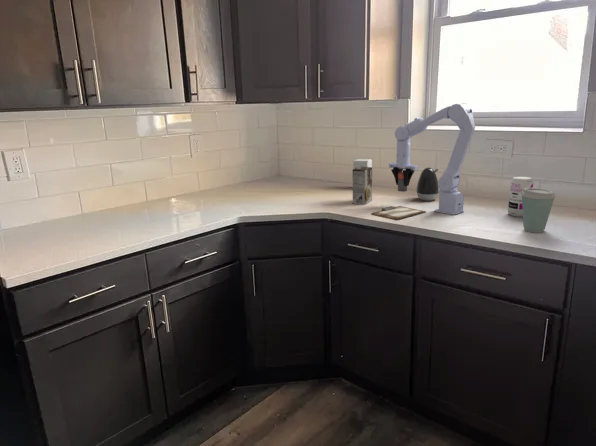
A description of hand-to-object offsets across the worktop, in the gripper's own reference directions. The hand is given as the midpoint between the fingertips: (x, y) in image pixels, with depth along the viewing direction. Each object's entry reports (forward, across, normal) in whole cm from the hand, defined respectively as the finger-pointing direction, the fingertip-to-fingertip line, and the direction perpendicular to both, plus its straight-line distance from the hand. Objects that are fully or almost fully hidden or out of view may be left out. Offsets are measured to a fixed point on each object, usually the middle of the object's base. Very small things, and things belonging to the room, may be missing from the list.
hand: (402, 185), depth 208 cm
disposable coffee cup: (+10, -58, -3) cm, 59 cm away
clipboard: (+9, -8, +12) cm, 17 cm away
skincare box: (+10, +41, -17) cm, 45 cm away
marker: (+2, 0, 0) cm, 2 cm away
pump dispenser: (+10, 0, -18) cm, 21 cm away
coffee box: (+10, +18, +7) cm, 21 cm away
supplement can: (+10, -43, -20) cm, 49 cm away
